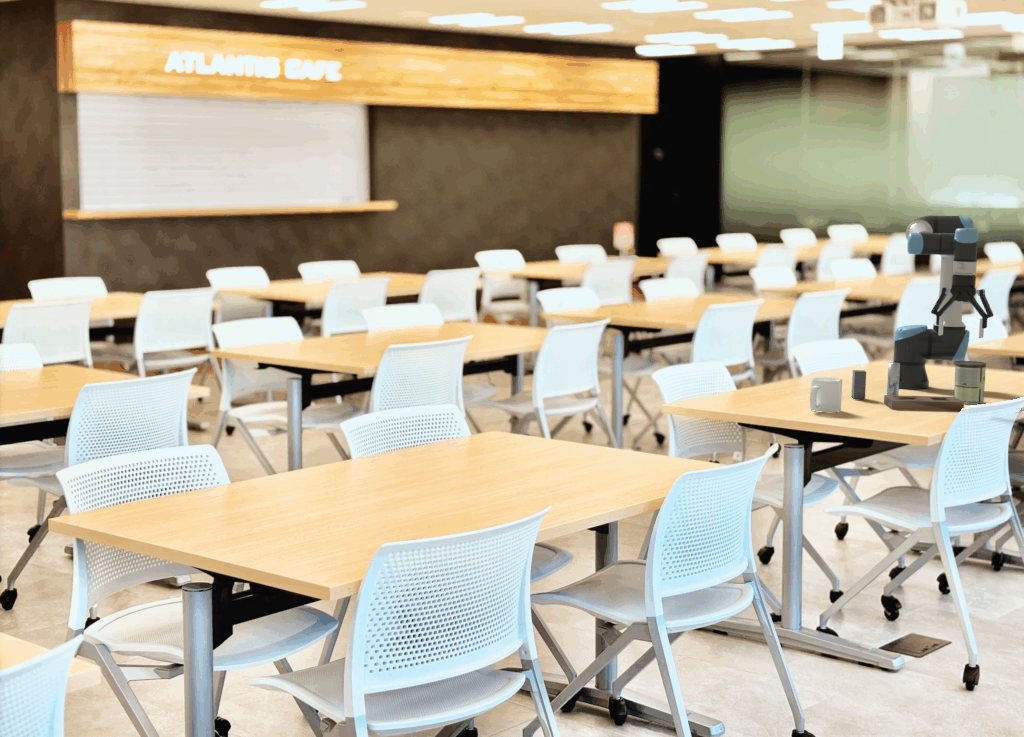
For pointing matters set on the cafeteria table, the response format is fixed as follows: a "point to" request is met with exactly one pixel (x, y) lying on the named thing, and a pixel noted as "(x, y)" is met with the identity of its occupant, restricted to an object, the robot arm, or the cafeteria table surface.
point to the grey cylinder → (893, 379)
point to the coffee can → (970, 381)
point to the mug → (826, 394)
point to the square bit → (858, 384)
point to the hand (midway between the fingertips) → (960, 336)
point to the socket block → (923, 403)
